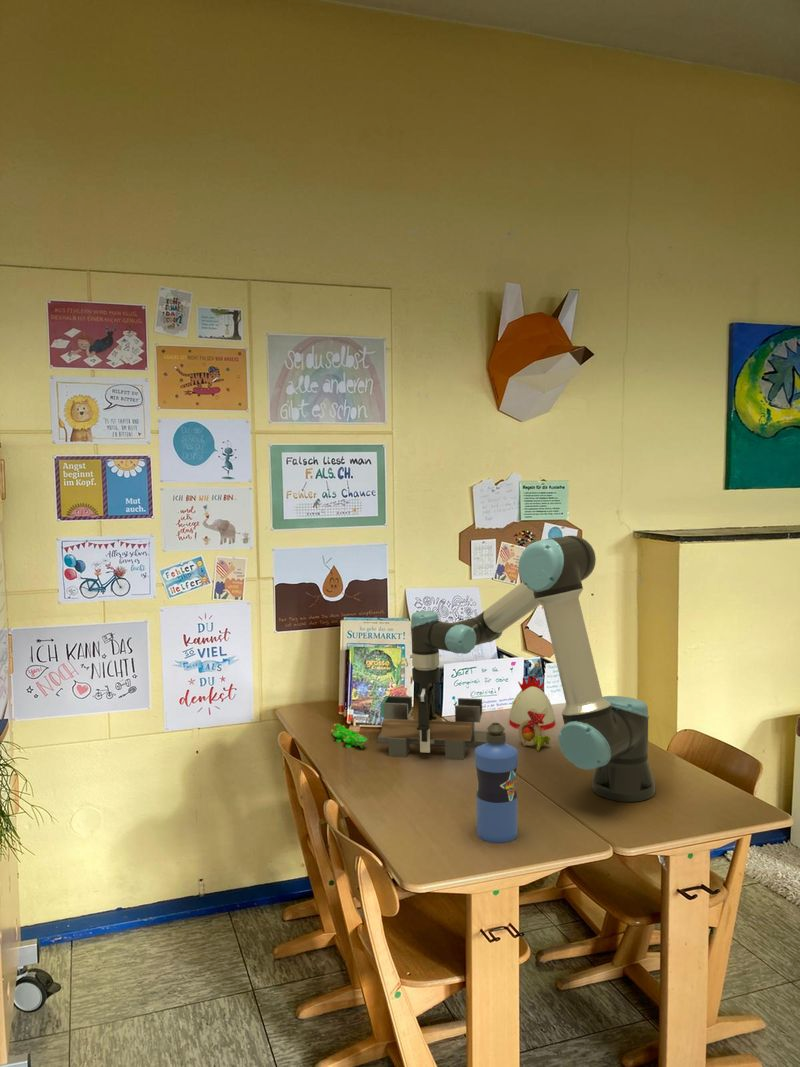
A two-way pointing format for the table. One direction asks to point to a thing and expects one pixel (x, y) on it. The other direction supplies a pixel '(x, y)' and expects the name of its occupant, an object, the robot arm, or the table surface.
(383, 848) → the table surface
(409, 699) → the rail stand
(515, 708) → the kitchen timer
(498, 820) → the water bottle
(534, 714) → the bird rattle
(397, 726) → the walnut rail
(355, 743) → the crocodile figurine
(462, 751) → the rail rest
